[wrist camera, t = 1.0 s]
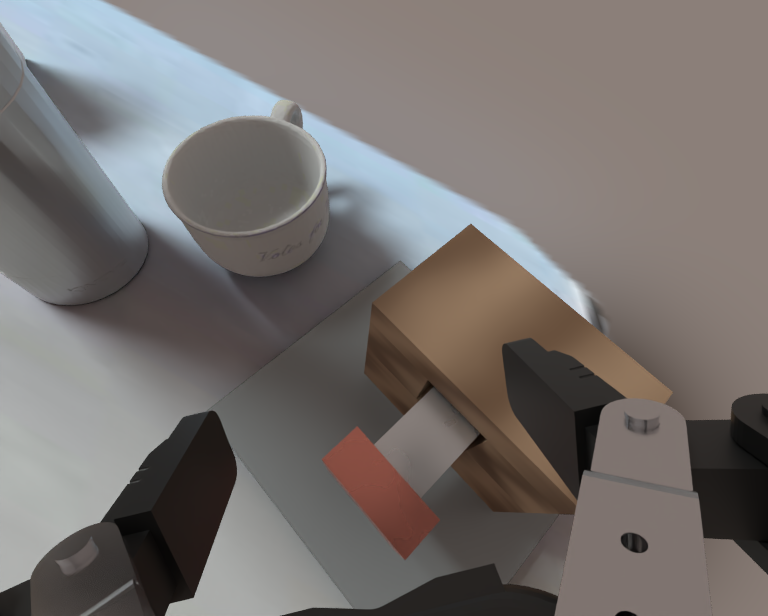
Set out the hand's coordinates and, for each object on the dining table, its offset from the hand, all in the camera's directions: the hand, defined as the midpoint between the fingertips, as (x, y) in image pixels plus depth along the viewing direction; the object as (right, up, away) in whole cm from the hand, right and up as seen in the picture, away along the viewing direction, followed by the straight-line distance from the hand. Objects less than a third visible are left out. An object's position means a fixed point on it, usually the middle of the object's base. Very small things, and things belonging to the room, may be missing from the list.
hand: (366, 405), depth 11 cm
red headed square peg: (+2, -5, +11) cm, 12 cm away
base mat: (+2, -6, +17) cm, 18 cm away
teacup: (-9, +10, +24) cm, 27 cm away
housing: (+6, -4, +18) cm, 19 cm away
